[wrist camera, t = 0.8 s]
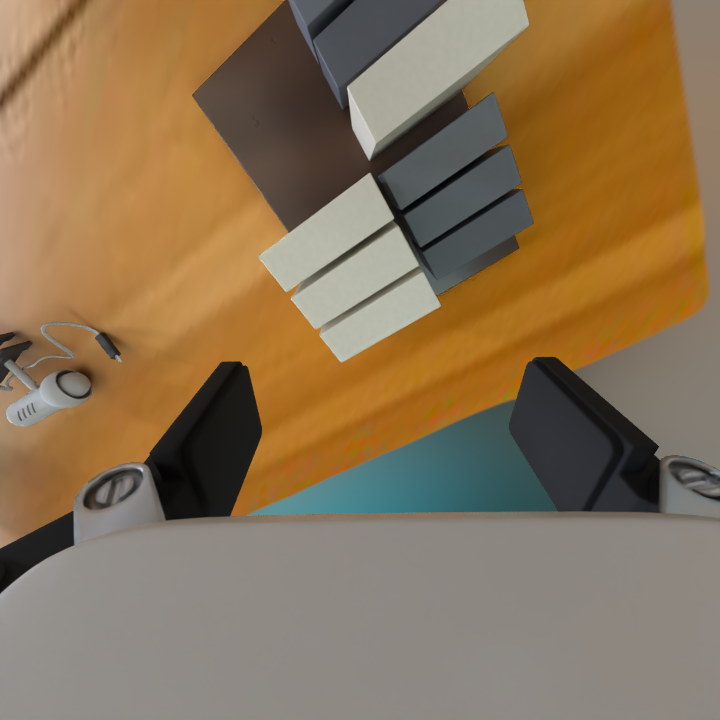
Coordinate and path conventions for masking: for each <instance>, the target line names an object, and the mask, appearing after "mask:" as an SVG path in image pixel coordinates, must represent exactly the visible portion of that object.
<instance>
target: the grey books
mask: <svg viewBox="0 0 720 720" xmlns="http://www.w3.org/2000/svg"><path fill="white" fill-rule="evenodd" d="M288 1H289V4H290V6H291V9H292V11H293V14H294V17H295V19H296V22H297V24H298V26H299V28H300V30H301V32H302V34H303V36H304V38H305V40H306V42H307V43H308V45H309V47H310V49H311V51H312V53H313V55H314V57H315V59H316V61H317V62H318V64H319V65H321V68H322V71H323V74H324V76H325V78H326V80H327V81H328V83H329V85H330V87H331V89H332V91H333V93H334V95H335V97H336V99H337V100H338V102H339V104H340V106H341V108H342V109H345V108H346V107H347V106H348V105H349V98H348V90H347V86H348V85H350V84H351V83H352V82H353V81H354V80H355V79H357V78H358V77H359V76H360V75H361V74H362V73H364V72H365V71H366V70H367V69H368V68H369V67H371V66H372V65H373V64H374V63H375V62H376V61H378V60H379V59H380V58H381V57H382V56H383V55H385V54H386V53H387V52H388V51H389V50H390V49H392V48H393V47H394V46H395V45H396V44H397V43H399V42H400V41H401V40H402V39H403V38H404V37H406V36H407V35H408V34H409V33H410V32H411V31H413V30H414V29H415V28H416V27H417V26H418V25H420V24H421V23H422V22H423V21H424V20H425V19H427V18H428V17H429V16H430V15H431V14H432V13H434V12H435V11H436V10H437V9H438V8H439V7H441V6H442V5H443V4H444V3H445V2H446V1H447V0H288ZM507 137H508V134H507V131H506V127H505V124H504V121H503V118H502V115H501V112H500V109H499V106H498V103H497V100H496V97H495V94H494V92H493V93H491V94H490V95H488V96H487V97H486V98H484V99H483V100H481V101H480V102H479V103H477V104H476V105H474V106H473V107H472V108H470V109H469V110H467V111H466V112H465V113H463V114H462V115H460V116H459V117H458V118H456V119H455V120H454V121H452V122H451V123H450V124H448V125H447V126H446V127H444V128H443V129H442V130H440V131H439V132H437V133H436V134H435V135H433V136H432V137H431V138H429V139H428V140H427V141H425V142H424V143H423V144H421V145H420V146H418V147H417V148H416V149H414V150H413V151H412V152H410V153H409V154H408V155H406V156H405V157H404V158H402V159H401V160H400V161H398V162H397V163H395V164H394V165H393V166H391V167H390V168H389V169H387V170H386V171H385V172H383V173H382V174H381V175H379V176H378V178H379V180H380V182H381V184H382V186H383V188H384V190H385V192H386V194H387V196H388V197H389V199H390V201H391V203H392V205H393V206H395V207H397V208H398V209H397V210H396V213H397V215H398V216H399V218H400V220H401V222H402V224H403V226H404V228H405V230H406V232H407V234H408V235H409V237H410V238H411V239H412V240H413V241H412V243H413V245H414V247H415V249H416V251H417V253H418V255H419V256H420V258H421V260H422V262H423V264H424V266H425V267H426V268H427V269H428V270H429V272H430V273H431V274H432V275H433V276H434V278H435V279H436V280H439V279H441V278H443V277H444V276H446V275H448V274H449V273H451V272H453V271H454V270H456V269H458V268H459V267H461V266H463V265H464V264H466V263H468V262H470V261H471V260H473V259H475V258H476V257H478V256H480V255H481V254H483V253H485V252H486V251H488V250H490V249H491V248H493V247H495V246H496V245H498V244H500V243H501V242H503V241H505V240H507V239H508V238H510V237H512V236H513V235H515V234H517V233H518V232H520V231H522V230H523V229H525V228H527V227H528V226H530V225H532V224H533V223H534V222H533V219H532V216H531V213H530V210H529V207H528V204H527V201H526V198H525V195H524V192H523V190H522V189H513V188H515V187H517V186H518V185H520V184H521V183H522V181H521V178H520V175H519V171H518V168H517V165H516V162H515V159H514V156H513V153H512V150H511V147H510V145H505V146H502V147H498V148H495V149H491V148H492V147H494V146H495V145H497V144H498V143H500V142H501V141H503V140H504V139H505V138H507ZM489 149H491V150H489Z"/></svg>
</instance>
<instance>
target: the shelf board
mask: <svg viewBox="0 0 720 720" xmlns="http://www.w3.org/2000/svg"><path fill="white" fill-rule="evenodd" d="M192 96H193V98H194V99H195V101H196V102H197V103H198V105H199V106H200V108H201V109H202V110H203V112H204V113H205V115H206V116H207V118H208V119H209V120H210V122H211V123H212V125H213V126H214V127H215V129H216V130H217V132H218V133H219V135H220V136H221V137H222V139H223V140H224V142H225V143H226V144H227V146H228V147H229V149H230V150H231V152H232V153H233V154H234V156H235V157H236V159H237V160H238V161H239V163H240V164H241V166H242V167H243V169H244V170H245V171H246V173H247V174H248V176H249V177H250V178H251V180H252V181H253V183H254V184H255V186H256V187H257V188H258V190H259V191H260V193H261V194H262V195H263V197H264V198H265V200H266V201H267V203H268V204H269V205H270V207H271V208H272V210H273V211H274V212H275V214H276V215H277V217H278V218H279V220H280V221H281V222H282V224H283V225H284V227H285V228H286V229H287V231H288V232H289V233H290V232H291V231H292V230H294V229H295V228H296V227H298V226H299V225H300V224H302V223H303V222H304V221H306V220H307V219H308V218H310V217H311V216H313V215H314V214H315V213H317V212H318V211H319V210H321V209H322V208H323V207H325V206H326V205H327V204H329V203H330V202H331V201H333V200H334V199H335V198H337V197H338V196H339V195H341V194H342V193H343V192H345V191H346V190H347V189H349V188H350V187H351V186H353V185H354V184H355V183H357V182H358V181H359V180H361V179H362V178H363V177H365V176H366V175H367V174H369V173H371V175H372V177H373V179H374V180H375V182H376V184H377V186H378V188H379V190H380V192H381V194H382V195H383V197H384V199H385V201H386V203H387V205H388V207H389V209H390V210H391V212H392V214H393V216H394V219H393V221H394V222H395V223H396V224H397V225H398V226H399V227H400V229H401V231H402V233H403V235H404V237H405V239H406V241H407V242H408V244H409V246H410V248H411V250H412V252H413V254H414V256H415V257H416V259H417V261H418V263H419V267H420V268H421V270H422V271H423V272H424V274H425V276H426V278H427V280H428V282H429V284H430V286H431V287H432V289H433V291H434V293H435V295H436V296H438V295H440V294H441V293H443V292H445V291H447V290H448V289H450V288H452V287H454V286H455V285H457V284H459V283H460V282H462V281H464V280H466V279H467V278H469V277H471V276H472V275H474V274H476V273H478V272H479V271H481V270H483V269H485V268H486V267H488V266H490V265H491V264H493V263H495V262H497V261H498V260H500V259H502V258H504V257H505V256H507V255H509V254H510V253H512V252H514V251H516V250H517V249H519V246H518V243H517V240H516V238H515V235H513V236H512V237H510V238H508V239H507V240H505V241H503V242H501V243H500V244H498V245H496V246H495V247H493V248H491V249H490V250H488V251H486V252H485V253H483V254H481V255H480V256H478V257H476V258H475V259H473V260H471V261H470V262H468V263H466V264H464V265H463V266H461V267H459V268H458V269H456V270H454V271H453V272H451V273H449V274H448V275H446V276H444V277H443V278H441V279H439V280H436V279H435V278H434V276H433V275H432V274H431V273H430V272H429V270H428V269H427V268H426V267H425V266H424V264H423V262H422V260H421V258H420V256H419V255H418V253H417V251H416V249H415V247H414V245H413V243H412V241H413V240H412V239H411V238H410V237H409V235H408V234H407V232H406V230H405V228H404V226H403V224H402V222H401V220H400V218H399V216H398V215H397V213H396V210H397V209H398V208H397V207H395V206H393V205H392V203H391V201H390V199H389V197H388V196H387V194H386V192H385V190H384V188H383V186H382V184H381V182H380V180H379V178H378V176H379V175H381V174H382V173H383V172H385V171H386V170H387V169H389V168H390V167H391V166H393V165H394V164H395V163H397V162H398V161H400V160H401V159H402V158H404V157H405V156H406V155H408V154H409V153H410V152H412V151H413V150H414V149H416V148H417V147H418V146H420V145H421V144H423V143H424V142H425V141H427V140H428V139H429V138H431V137H432V136H433V135H435V134H436V133H437V132H439V131H440V130H442V129H443V128H444V127H446V126H447V125H448V124H450V123H451V122H452V121H454V120H455V119H456V118H458V117H459V116H460V115H462V114H463V113H465V112H466V111H467V110H469V108H468V106H467V103H466V100H465V97H464V95H463V92H462V90H461V91H460V92H459V93H458V94H457V95H456V96H454V97H453V98H452V99H450V100H449V101H448V102H447V103H445V104H444V105H443V106H441V107H440V108H439V109H437V110H436V111H435V112H433V113H432V114H431V115H429V116H428V117H427V118H426V119H424V120H423V121H422V122H420V123H419V124H418V125H416V126H415V127H414V128H412V129H411V130H410V131H408V132H407V133H406V134H404V135H403V136H402V137H401V138H399V139H398V140H397V141H395V142H394V143H393V144H391V145H390V146H389V147H387V148H386V149H385V150H383V151H382V152H381V153H380V154H378V155H377V156H376V157H374V158H373V159H372V160H370V161H369V159H368V158H367V156H366V154H365V152H364V150H363V148H362V146H361V144H360V142H359V140H358V139H357V137H356V135H355V133H354V131H353V129H352V122H351V114H350V106H349V105H348V106H347V107H346V108H345V109H342V108H341V106H340V104H339V102H338V100H337V99H336V97H335V95H334V93H333V91H332V89H331V87H330V85H329V83H328V81H327V80H326V78H325V76H324V74H323V71H322V68H321V65H319V64H318V62H317V61H316V59H315V57H314V55H313V53H312V51H311V49H310V47H309V45H308V43H307V42H306V40H305V38H304V36H303V34H302V32H301V30H300V28H299V26H298V24H297V22H296V19H295V17H294V14H293V11H292V9H291V6H290V4H289V1H288V0H285V1H284V2H283V3H282V4H281V5H280V6H279V7H278V8H277V9H276V10H275V11H274V12H273V13H272V14H271V15H270V16H269V17H268V18H267V19H266V20H265V21H264V22H263V23H262V24H261V25H260V26H259V28H258V29H257V30H256V31H255V32H254V33H253V34H252V35H251V36H250V37H249V38H248V39H247V40H246V41H245V42H244V43H243V44H242V45H241V46H240V47H239V48H238V49H237V50H236V51H235V52H234V53H233V54H232V55H231V56H230V57H229V58H228V59H227V60H226V61H225V62H224V63H223V64H222V65H221V66H220V67H219V68H218V69H217V70H216V71H215V72H214V73H213V74H212V75H211V76H210V77H209V78H208V79H207V80H206V81H205V82H204V83H203V84H202V85H201V86H200V88H199V89H198V90H197V91H196V92H195V93H194V94H193V95H192Z"/></svg>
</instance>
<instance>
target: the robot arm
mask: <svg viewBox="0 0 720 720" xmlns="http://www.w3.org/2000/svg"><path fill="white" fill-rule="evenodd" d="M509 430H510V433H511V435H512V437H513V438H514V440H515V442H516V443H517V445H518V447H519V448H520V450H521V451H522V453H523V455H524V456H525V458H526V460H527V461H528V463H529V465H530V466H531V468H532V469H533V471H534V473H535V474H536V476H537V478H538V479H539V481H540V482H541V484H542V486H543V487H544V489H545V491H546V492H547V494H548V495H549V497H550V499H551V500H552V502H553V504H554V505H555V507H556V508H557V510H558V512H455V513H454V512H453V513H452V512H450V513H449V512H447V513H368V514H367V513H366V514H312V515H310V514H309V515H258V516H230V515H231V512H232V510H233V507H234V505H235V502H236V499H237V497H238V494H239V492H240V489H241V487H242V484H243V482H244V479H245V477H246V474H247V471H248V469H249V466H250V464H251V461H252V459H253V456H254V454H255V451H256V449H257V446H258V443H259V441H260V438H261V435H262V426H261V422H260V417H259V413H258V409H257V404H256V400H255V396H254V391H253V387H252V383H251V379H250V374H249V370H248V367H247V366H243V365H242V363H241V362H240V361H239V362H221V363H220V364H219V366H218V367H217V368H216V369H215V371H214V372H213V373H212V374H211V376H210V377H209V378H208V379H207V381H206V382H205V383H204V385H203V386H202V387H201V388H200V390H199V391H198V392H197V393H196V395H195V396H194V397H193V398H192V400H191V401H190V402H189V404H188V405H187V406H186V407H185V409H184V410H183V411H182V412H181V414H180V415H179V416H178V417H177V419H176V420H175V421H174V423H173V424H172V425H171V426H170V428H169V429H168V430H167V431H166V433H165V434H164V435H163V436H162V438H161V439H160V440H159V442H158V443H157V444H156V445H155V447H154V448H153V449H152V450H151V452H150V456H149V457H148V458H147V460H146V461H145V462H144V463H139V462H130V463H124V464H120V465H117V466H115V467H112V468H110V469H108V470H106V471H104V472H102V473H100V474H99V475H97V476H96V477H94V478H93V479H91V480H90V481H89V482H88V483H87V484H86V485H85V486H84V487H83V488H82V489H81V490H80V491H79V493H78V495H77V496H76V498H75V501H74V505H73V511H72V512H70V513H68V514H66V515H64V516H62V517H60V518H59V519H57V520H55V521H53V522H51V523H49V524H47V525H45V526H43V527H41V528H39V529H37V530H35V531H33V532H32V533H30V534H28V535H26V536H24V537H22V538H20V539H18V540H16V541H14V542H12V543H10V544H8V545H6V546H5V547H3V548H1V549H0V720H720V470H719V469H717V468H715V467H713V466H711V465H709V464H706V463H704V462H702V461H699V460H696V459H693V458H689V457H685V456H678V455H671V456H666V457H664V458H662V459H661V460H659V459H658V458H657V457H656V456H655V455H654V454H655V452H656V451H657V449H658V447H659V446H658V445H657V444H656V443H654V442H653V441H652V440H651V439H650V438H649V437H648V436H646V435H645V434H644V433H643V432H642V431H641V430H639V429H638V428H637V427H636V426H635V425H634V424H633V423H631V422H630V421H629V420H628V419H627V418H626V417H624V416H623V415H622V414H621V413H620V412H619V411H617V410H616V409H615V408H614V407H613V406H612V405H611V404H609V403H608V402H607V401H606V400H605V399H604V398H602V397H601V396H600V395H599V394H598V393H597V392H596V391H594V390H593V389H592V388H591V387H590V386H589V385H587V384H586V383H585V382H584V381H583V380H582V379H580V378H579V377H578V376H577V375H576V374H575V373H574V372H572V371H571V370H570V369H569V368H568V367H567V366H565V365H564V364H563V363H562V362H561V361H560V360H559V359H557V358H556V357H536V358H534V359H533V360H532V362H529V363H528V364H527V366H526V369H525V372H524V376H523V379H522V382H521V386H520V389H519V392H518V396H517V399H516V402H515V406H514V409H513V412H512V416H511V419H510V423H509Z"/></svg>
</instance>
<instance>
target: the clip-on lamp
mask: <svg viewBox="0 0 720 720" xmlns="http://www.w3.org/2000/svg"><path fill="white" fill-rule="evenodd" d="M50 325H68V326H75V327H80V328H84V329H87V330H90V331H91V332H93V333H95V334H96V335H97V336H96V337H95V339H96V340H97V341H98V342H99V344H100V345H101V346H102V348H103V349H104V350H105V351H106V353H107V354H108V355H109V357H110V358H111V359H117V361H118V362H122V360H121V359H120V357H119V356H120V355H121V353H120V352H119V351H118V349H117V348H116V347H115V346H114V344H113V343H112V342H111V340H110V339H109V338H108V337H107V335H106V334H105V333H99V332H98V331H96V330H94V329H93V328H90V327H87V326H84V325H80V324H75V323H66V322H51V323H46V324H44V325H43V326H41V332H42V333H43V335H44V336H45V337H46V338H47V339H48V340H49V341H51V342H52V343H53V344H55V345H56V346H58V347H59V348H61V349H62V350H63V351H65V352H66V353H68V354H69V355H70V356H60V355H50V356H45V357H42V358H40V359H39V360H37V361H36V362H35V363H34V364H30V365H27V366H25V367H23V368H22V369H21V368H20V367H19V366H18V365H17V364H16V363H15V362H16V360H17V359H18V357H19V356H20V354H21V353H22V351H24V350H27V349H28V348H29V347H30V346H31V345H32V342H30V341H26V342H23V343H19V344H16V345H13V346H9V347H6V348H3V349H0V383H1V382H2V381H3V380H4V378H5V377H6V375H7V374H8V372H9V371H11V372H12V373H13V375H12V376H11V377H10V378H9V379H8V380H7V381H6V383H5V386H1V385H0V389H2V390H7V391H12V389H13V387H11V386H9V381H10V380H11V379H12V378H13V377H14V376H16V377H17V378H19V379H20V380H21V381H22V382H23V383H24V384H25V385H26V386H27V387H29V388H30V389H31V390H32V391H30V392H29V393H27V394H26V396H24V397H23V398H21V399H19V400H18V401H16V402H14V403H13V404H11V405H10V406H9V407H8V409H7V411H6V416H7V419H8V420H9V421H10V422H11V423H13V424H15V425H18V426H30V425H33V424H36V423H38V422H39V421H41V420H43V419H45V418H46V417H48V416H50V415H52V414H54V413H55V412H57V411H59V410H61V409H62V408H70V407H75V406H77V405H80V404H82V403H84V402H85V401H86V400H87V399H88V398H89V397H90V396H91V394H92V385H91V383H90V381H89V379H88V378H87V377H86V376H85V375H83V374H81V373H79V372H77V371H74V370H67V369H65V370H60V371H56V372H53V373H51V374H50V375H48V376H47V377H46V378H44V380H43V381H42V383H41V385H40V386H38V385H37V384H36V382H35V381H34V380H33V379H32V378H31V377H30V376H29V375H28V374H27V373H26V372H24V371H23V370H24V369H26V368H29V367H34V366H35V365H36V364H37V363H38V362H40V361H41V360H43V359H45V358H74V357H75V354H74V353H73V352H72V351H71V350H69V349H68V348H66V347H65V346H63V345H62V344H61V343H59V342H58V341H56V340H55V339H54V338H52V337H51V336H50V335H49V334H48V333H47V332H46V329H45V328H46V327H47V326H50ZM15 335H16V334H14V333H13V332H10V333H6V334H2V335H0V345H2V344H3V343H4V342H6V341H9V340H11V339H12V338H13V337H14V336H15Z"/></svg>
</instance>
